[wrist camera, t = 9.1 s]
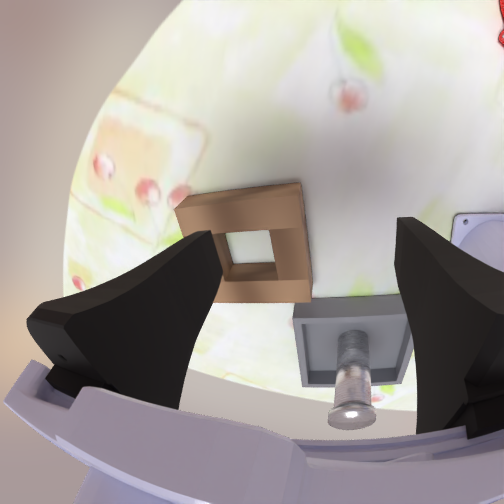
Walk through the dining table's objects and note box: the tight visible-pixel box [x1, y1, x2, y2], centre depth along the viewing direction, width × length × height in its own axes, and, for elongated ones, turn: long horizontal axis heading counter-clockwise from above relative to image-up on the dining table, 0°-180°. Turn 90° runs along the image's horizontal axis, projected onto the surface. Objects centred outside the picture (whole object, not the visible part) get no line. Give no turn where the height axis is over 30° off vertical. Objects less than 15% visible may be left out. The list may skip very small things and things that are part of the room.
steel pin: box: [328, 330, 376, 430], centre depth 23 cm, size 4×4×9 cm
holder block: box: [174, 183, 313, 303], centre depth 23 cm, size 9×9×2 cm
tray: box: [292, 294, 414, 387], centre depth 26 cm, size 11×11×2 cm
